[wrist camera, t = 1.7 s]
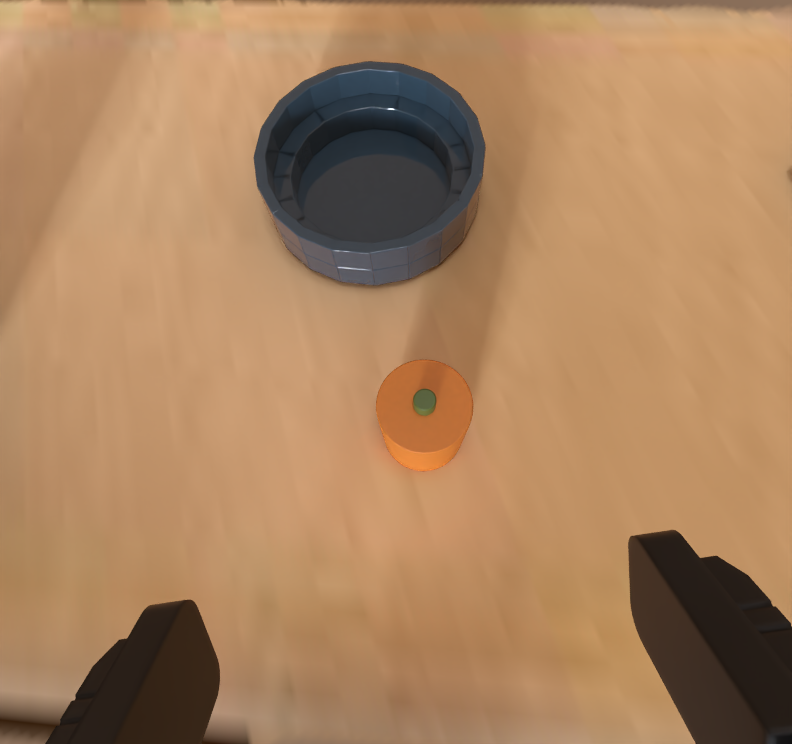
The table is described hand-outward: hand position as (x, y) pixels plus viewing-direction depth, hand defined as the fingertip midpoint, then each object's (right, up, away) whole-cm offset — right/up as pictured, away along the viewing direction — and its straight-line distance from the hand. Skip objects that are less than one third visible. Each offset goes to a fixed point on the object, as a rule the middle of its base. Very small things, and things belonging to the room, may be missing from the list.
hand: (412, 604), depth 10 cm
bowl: (-2, +18, +31) cm, 36 cm away
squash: (+2, 0, +25) cm, 25 cm away
